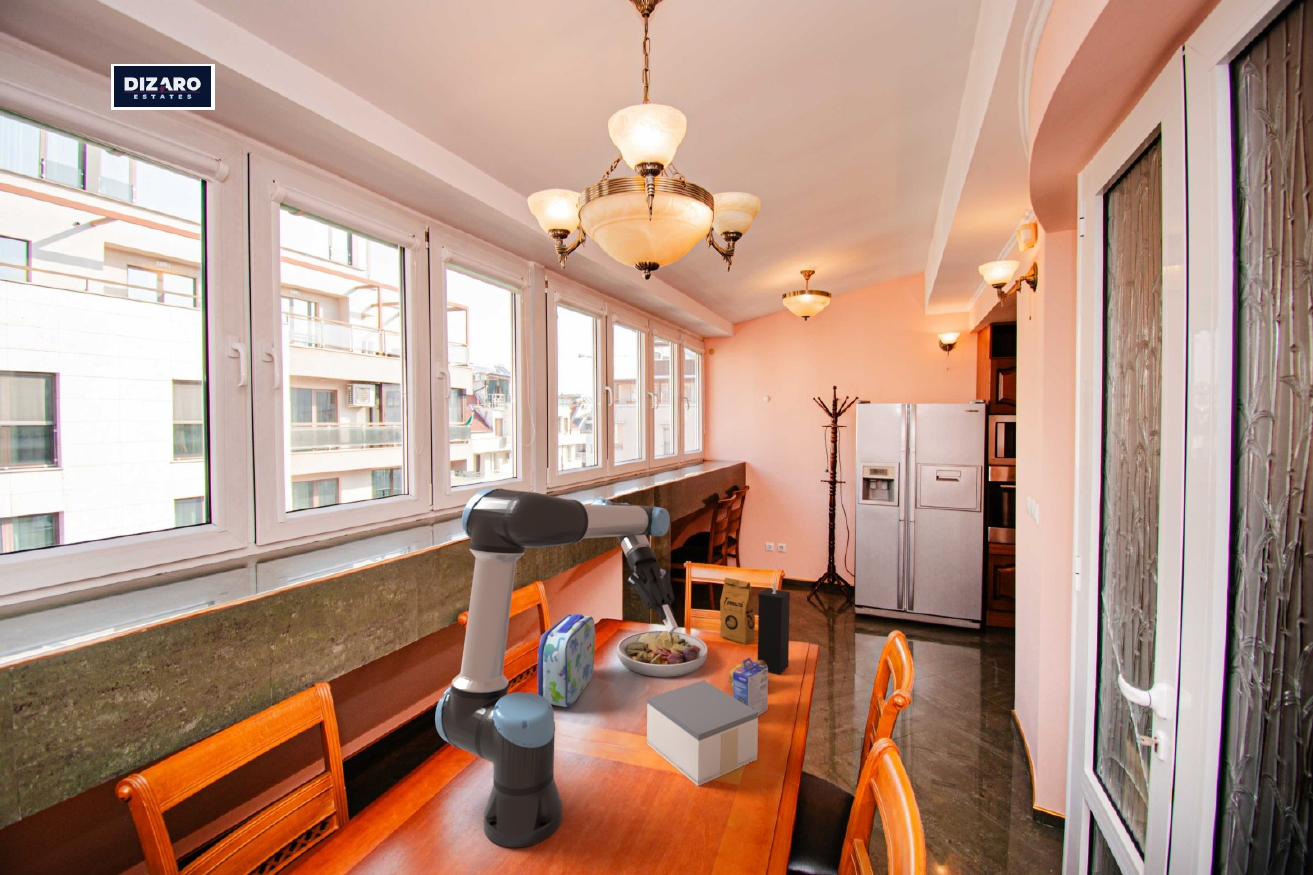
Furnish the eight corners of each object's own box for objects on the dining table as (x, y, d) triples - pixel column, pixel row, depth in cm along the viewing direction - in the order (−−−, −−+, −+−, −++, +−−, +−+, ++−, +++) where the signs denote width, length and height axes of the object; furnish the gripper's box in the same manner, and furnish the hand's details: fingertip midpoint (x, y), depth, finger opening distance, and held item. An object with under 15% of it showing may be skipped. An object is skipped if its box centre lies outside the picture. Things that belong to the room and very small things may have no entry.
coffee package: (744, 647, 204) (745, 586, 203) (715, 638, 212) (716, 579, 212) (759, 640, 211) (760, 580, 210) (731, 631, 219) (732, 574, 219)
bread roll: (745, 700, 165) (745, 673, 164) (718, 689, 171) (719, 662, 171) (770, 686, 174) (771, 660, 174) (744, 676, 181) (744, 651, 180)
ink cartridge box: (751, 703, 163) (752, 652, 163) (768, 710, 159) (769, 658, 159) (731, 715, 156) (732, 663, 156) (748, 723, 152) (749, 669, 152)
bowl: (598, 662, 190) (598, 638, 190) (657, 637, 213) (657, 616, 213) (668, 690, 171) (668, 664, 170) (724, 660, 193) (725, 637, 193)
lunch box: (565, 671, 183) (566, 605, 182) (598, 674, 180) (599, 608, 180) (532, 710, 157) (532, 635, 157) (569, 715, 155) (570, 638, 154)
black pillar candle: (788, 667, 188) (790, 582, 187) (780, 675, 181) (781, 587, 180) (766, 661, 192) (767, 578, 191) (756, 669, 185) (758, 583, 185)
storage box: (646, 743, 142) (647, 703, 141) (703, 722, 152) (703, 685, 152) (698, 786, 125) (699, 741, 125) (757, 760, 135) (758, 718, 135)
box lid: (647, 702, 141) (647, 697, 141) (703, 684, 152) (703, 680, 152) (698, 740, 125) (698, 734, 125) (758, 717, 135) (758, 712, 135)
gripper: (652, 557, 167) (686, 631, 154) (613, 563, 160) (646, 641, 146) (663, 542, 163) (699, 618, 149) (624, 547, 155) (658, 627, 142)
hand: (673, 629), depth 148 cm, fingers closed
